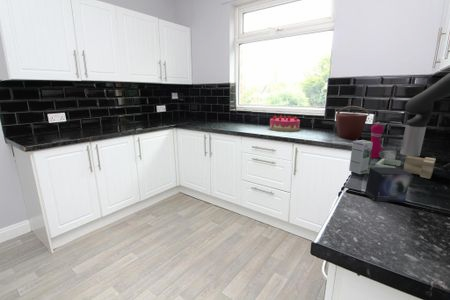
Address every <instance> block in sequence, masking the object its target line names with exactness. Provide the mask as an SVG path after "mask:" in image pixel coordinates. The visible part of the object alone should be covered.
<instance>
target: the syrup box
mask: <svg viewBox="0 0 450 300" xmlns="http://www.w3.org/2000/svg"><path fill="white" fill-rule="evenodd" d="M370 141H371V140H365V139H361V140H359V139H358V140H353V141H352V144H351V153H350V161H349V168H348V169H349V172H352V173H355V174H358V175H363V174H367V173H368V174H369V169H370V166H371V165H370V162H371V152H372V145H373V142H370Z"/></svg>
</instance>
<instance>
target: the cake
mask: <svg viewBox="0 0 450 300" xmlns="http://www.w3.org/2000/svg"><path fill="white" fill-rule="evenodd" d="M300 124H301V120H300V119H298V117H297V116H293V117H291V115H288V117H286V116H285V115H284V116H283V115H280V116H279V117H278V116H277V115H273V117H272V118H270V119H269V129H270V130H271V131H276V132H297V131H299V130H300V127H301V126H300Z"/></svg>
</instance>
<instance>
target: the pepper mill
mask: <svg viewBox="0 0 450 300" xmlns="http://www.w3.org/2000/svg"><path fill="white" fill-rule="evenodd" d="M384 130H385V128H384V126H383V124H382V125H381V122H380V121H377V122H376V123H375V124H373V125H372V126H371V127H370V131H371V134H370V136H371V139H370V140H369V141H370V142H373V145H372V152H371V158H372V159H378V158H380V153H381V152H382V145H381V137H382V136H383V135H382V133H383V132H384ZM371 158H370V159H371Z"/></svg>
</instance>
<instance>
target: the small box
mask: <svg viewBox="0 0 450 300" xmlns="http://www.w3.org/2000/svg"><path fill="white" fill-rule="evenodd" d="M411 177H412V173H409V172H406V171H404V170H403V168H400V167H395V168H389V167H375V166H369V171H368V176H367V179H366V180H367V181H366V185H365V191H364V195H365V196H366V197H368V198H369V199H371V200H372V201H373V202H375V203H380V202H381V203H405V202H406V198H407V194H408V190H409V186H410V182H411Z"/></svg>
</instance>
